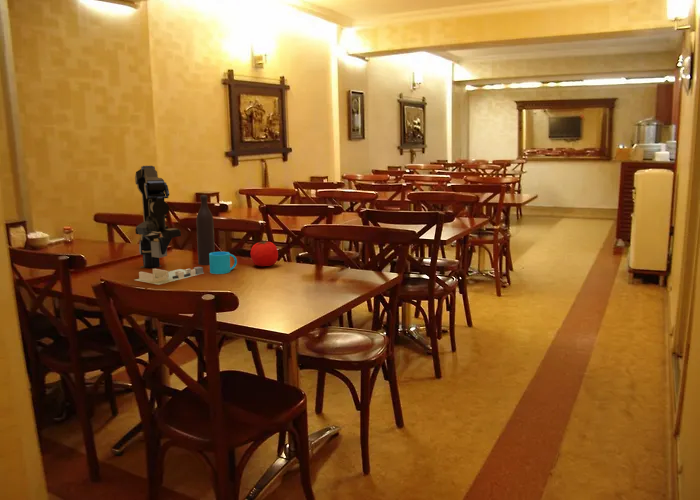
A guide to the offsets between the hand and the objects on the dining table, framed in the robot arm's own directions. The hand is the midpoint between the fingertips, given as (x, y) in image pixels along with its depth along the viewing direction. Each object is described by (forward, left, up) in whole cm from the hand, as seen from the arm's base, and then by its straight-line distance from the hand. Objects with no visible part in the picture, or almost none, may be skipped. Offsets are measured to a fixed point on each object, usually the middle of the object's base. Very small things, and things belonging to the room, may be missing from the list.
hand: (159, 253), depth 226 cm
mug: (+11, +23, -11) cm, 28 cm away
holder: (-2, -2, -10) cm, 10 cm away
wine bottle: (-6, +30, -11) cm, 33 cm away
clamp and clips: (+5, +10, -10) cm, 15 cm away
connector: (0, 0, -1) cm, 1 cm away
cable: (+5, +8, -10) cm, 13 cm away
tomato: (+17, +41, -11) cm, 46 cm away
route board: (0, +5, -10) cm, 11 cm away
